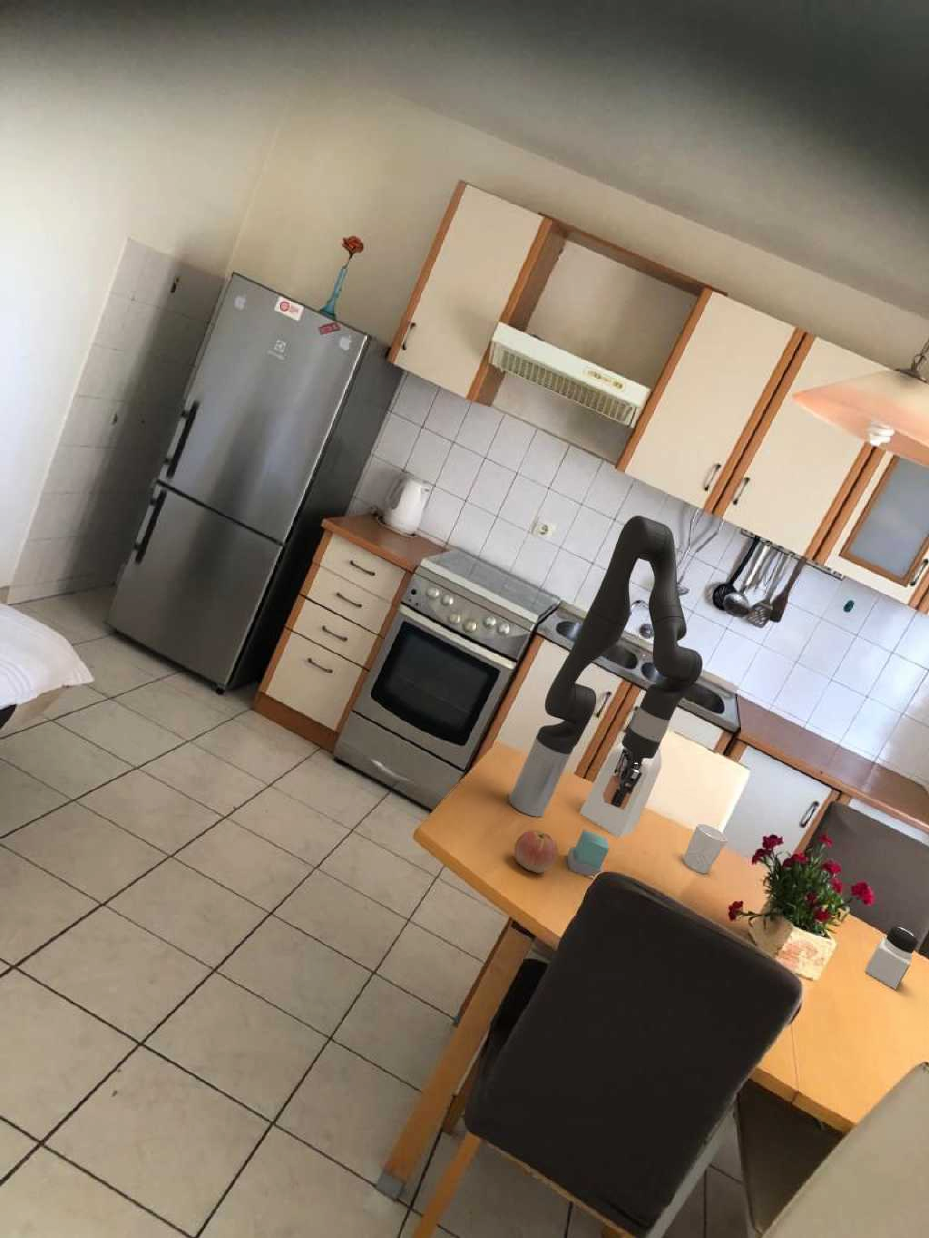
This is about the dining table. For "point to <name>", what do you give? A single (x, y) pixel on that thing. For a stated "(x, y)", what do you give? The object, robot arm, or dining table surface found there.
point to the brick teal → (591, 849)
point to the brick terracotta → (611, 791)
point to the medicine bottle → (892, 957)
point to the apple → (535, 850)
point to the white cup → (704, 848)
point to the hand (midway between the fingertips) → (613, 800)
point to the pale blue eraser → (581, 865)
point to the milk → (628, 818)
